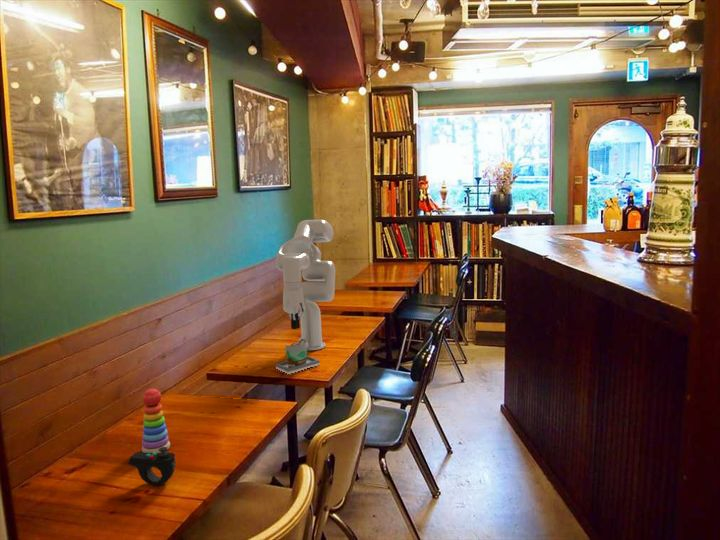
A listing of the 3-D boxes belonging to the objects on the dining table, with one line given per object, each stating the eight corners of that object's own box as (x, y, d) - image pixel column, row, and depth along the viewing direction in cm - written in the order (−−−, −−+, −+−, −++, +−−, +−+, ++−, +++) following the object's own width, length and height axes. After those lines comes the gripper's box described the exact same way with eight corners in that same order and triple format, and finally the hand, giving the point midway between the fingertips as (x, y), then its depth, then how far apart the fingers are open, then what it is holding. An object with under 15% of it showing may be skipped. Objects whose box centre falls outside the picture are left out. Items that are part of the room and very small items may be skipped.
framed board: (276, 369, 231) (275, 363, 231) (307, 360, 241) (306, 355, 241) (288, 374, 224) (288, 369, 224) (319, 365, 234) (319, 360, 233)
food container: (298, 371, 224) (296, 347, 223) (286, 369, 227) (284, 345, 226) (315, 361, 235) (313, 339, 233) (303, 360, 238) (301, 337, 236)
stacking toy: (166, 455, 160) (160, 394, 157) (138, 457, 160) (131, 396, 157) (173, 442, 168) (167, 384, 165) (146, 444, 167) (140, 386, 164)
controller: (172, 489, 142) (168, 453, 140) (128, 486, 144) (124, 450, 142) (180, 480, 146) (176, 445, 144) (138, 477, 148) (134, 443, 146)
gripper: (275, 284, 230) (278, 327, 233) (294, 289, 219) (297, 333, 222) (290, 282, 235) (293, 323, 238) (310, 286, 223) (313, 329, 226)
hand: (295, 328), depth 230 cm, fingers closed
